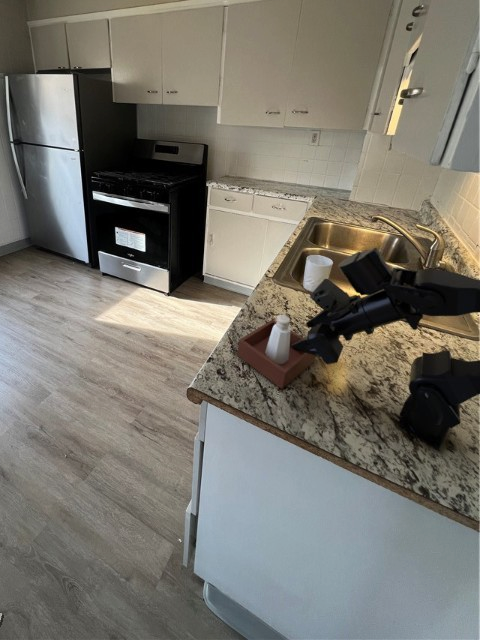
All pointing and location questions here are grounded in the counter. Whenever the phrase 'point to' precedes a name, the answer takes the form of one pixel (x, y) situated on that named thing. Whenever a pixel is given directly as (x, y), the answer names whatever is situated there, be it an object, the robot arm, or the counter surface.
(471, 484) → the counter surface
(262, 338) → the bin
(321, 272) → the white cup
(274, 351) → the salt shaker
